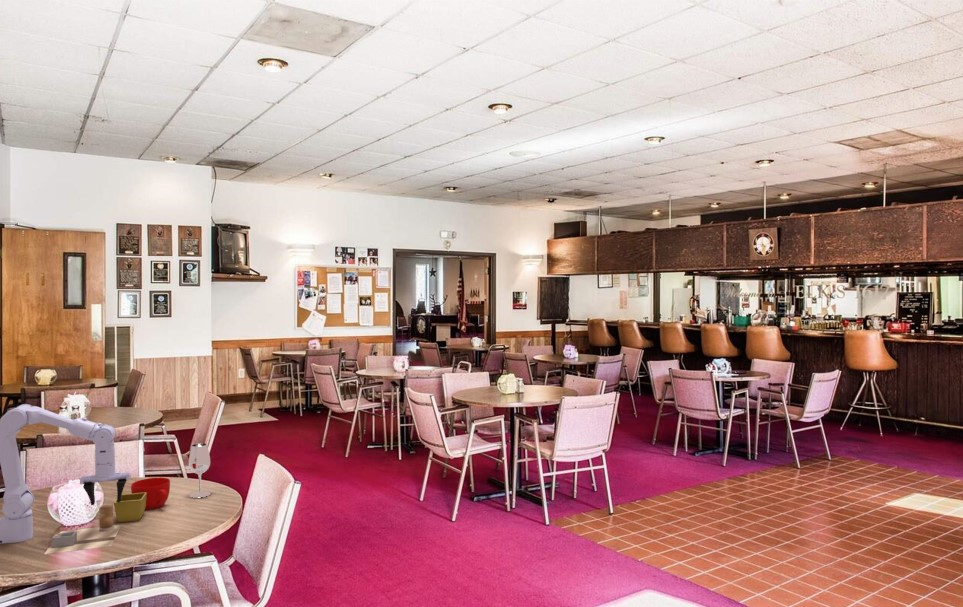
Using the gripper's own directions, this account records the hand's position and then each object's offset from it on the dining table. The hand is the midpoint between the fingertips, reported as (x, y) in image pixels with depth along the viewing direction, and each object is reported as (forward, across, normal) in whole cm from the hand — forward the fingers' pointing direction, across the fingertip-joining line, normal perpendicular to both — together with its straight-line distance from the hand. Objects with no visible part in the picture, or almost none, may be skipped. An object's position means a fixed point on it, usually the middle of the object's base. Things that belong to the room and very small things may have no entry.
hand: (106, 502), depth 223 cm
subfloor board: (+10, -5, -7) cm, 13 cm away
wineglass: (+10, +27, +33) cm, 44 cm away
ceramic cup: (+10, +12, +20) cm, 26 cm away
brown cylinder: (+9, 0, 0) cm, 9 cm away
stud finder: (+9, -10, -10) cm, 17 cm away
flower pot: (+11, +6, +9) cm, 15 cm away
